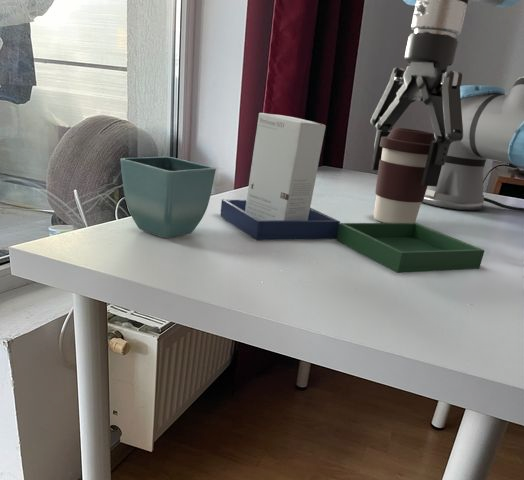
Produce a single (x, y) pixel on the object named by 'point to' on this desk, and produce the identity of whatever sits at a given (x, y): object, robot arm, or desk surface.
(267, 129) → the cosmetic box
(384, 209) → the coffee cup
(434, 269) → the green tray
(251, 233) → the navy tray
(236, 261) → the desk surface
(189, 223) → the flower pot
